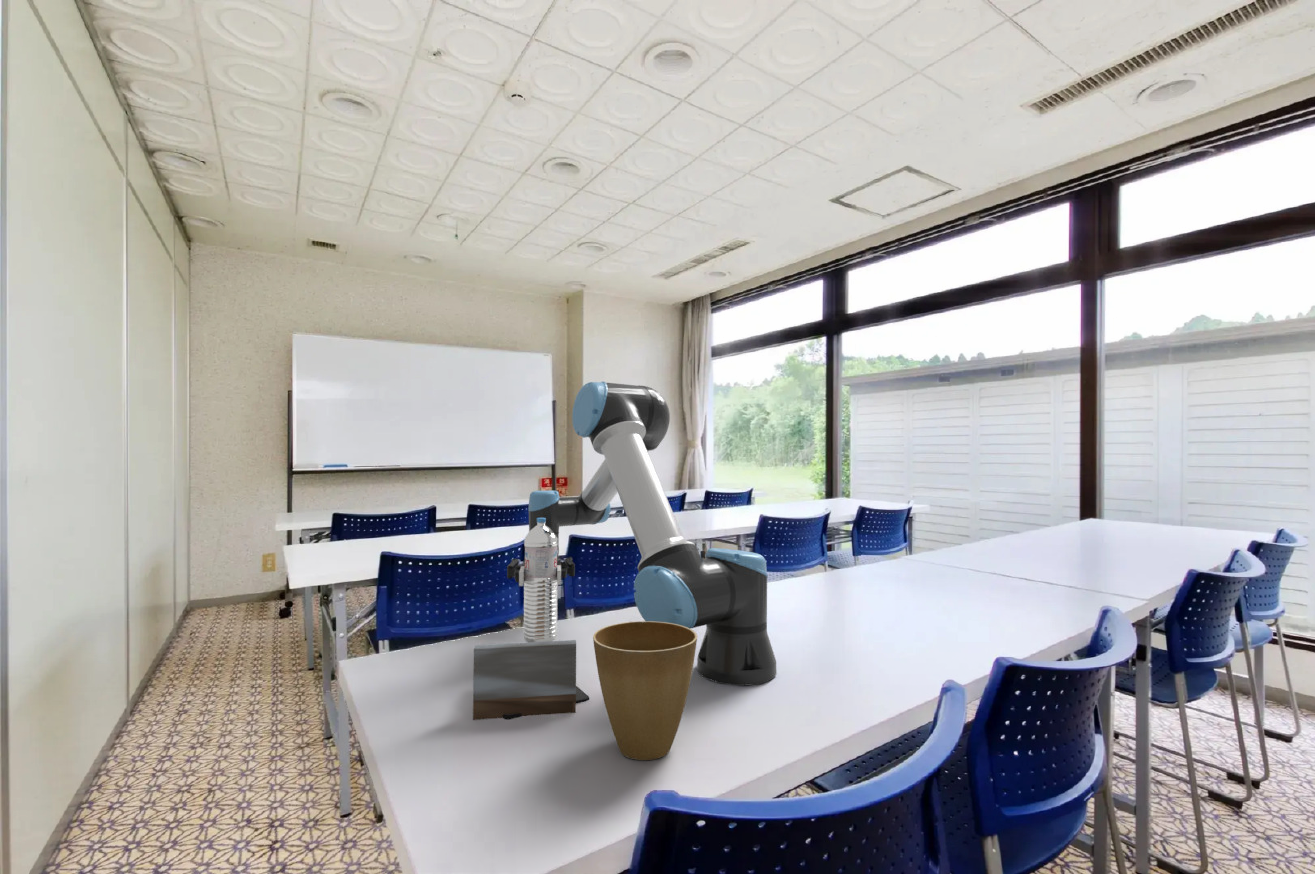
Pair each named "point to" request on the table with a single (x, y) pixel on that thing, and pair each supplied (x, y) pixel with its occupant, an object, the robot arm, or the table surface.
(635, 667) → the plant pot
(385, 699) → the table surface
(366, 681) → the table surface
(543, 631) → the water bottle
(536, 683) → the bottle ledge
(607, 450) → the robot arm
